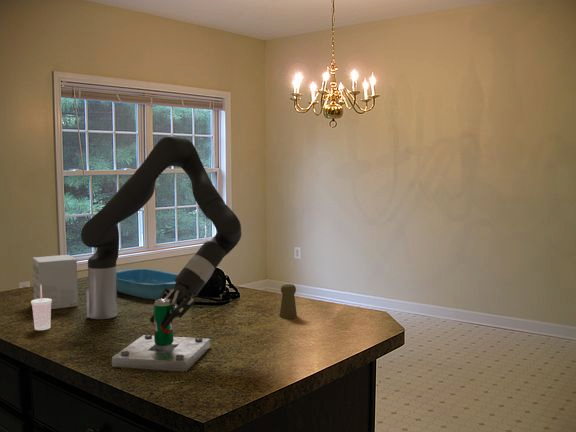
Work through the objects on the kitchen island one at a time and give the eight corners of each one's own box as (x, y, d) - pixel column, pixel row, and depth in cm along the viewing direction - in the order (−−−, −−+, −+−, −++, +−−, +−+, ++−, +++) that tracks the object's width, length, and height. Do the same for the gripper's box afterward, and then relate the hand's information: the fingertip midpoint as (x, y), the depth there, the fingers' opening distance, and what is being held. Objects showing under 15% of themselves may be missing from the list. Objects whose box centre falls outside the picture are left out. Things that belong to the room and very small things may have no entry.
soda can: (155, 341, 163) (154, 298, 162) (174, 340, 163) (173, 297, 162) (153, 347, 158) (152, 302, 157) (172, 346, 158) (171, 302, 157)
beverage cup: (48, 324, 192) (46, 281, 191) (56, 328, 188) (54, 284, 186) (29, 328, 188) (27, 284, 186) (36, 332, 183) (34, 287, 182)
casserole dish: (200, 294, 238) (200, 276, 237) (156, 304, 220) (155, 285, 220) (141, 282, 260) (141, 266, 260) (97, 291, 243) (97, 273, 242)
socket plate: (112, 366, 153) (111, 354, 152) (143, 343, 172) (143, 332, 172) (186, 371, 149) (185, 359, 149) (210, 347, 169) (209, 336, 169)
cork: (299, 314, 205) (299, 283, 204) (293, 319, 200) (293, 286, 199) (282, 313, 207) (282, 282, 206) (276, 317, 202) (277, 285, 201)
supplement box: (70, 299, 228) (69, 254, 226) (78, 306, 216) (77, 258, 215) (33, 303, 220) (31, 257, 219) (40, 311, 209) (38, 262, 208)
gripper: (173, 263, 169) (135, 311, 162) (200, 270, 158) (160, 322, 151) (190, 279, 173) (153, 327, 166) (217, 287, 162) (179, 338, 155)
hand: (157, 324), depth 159 cm, fingers closed on soda can, 5 cm apart
